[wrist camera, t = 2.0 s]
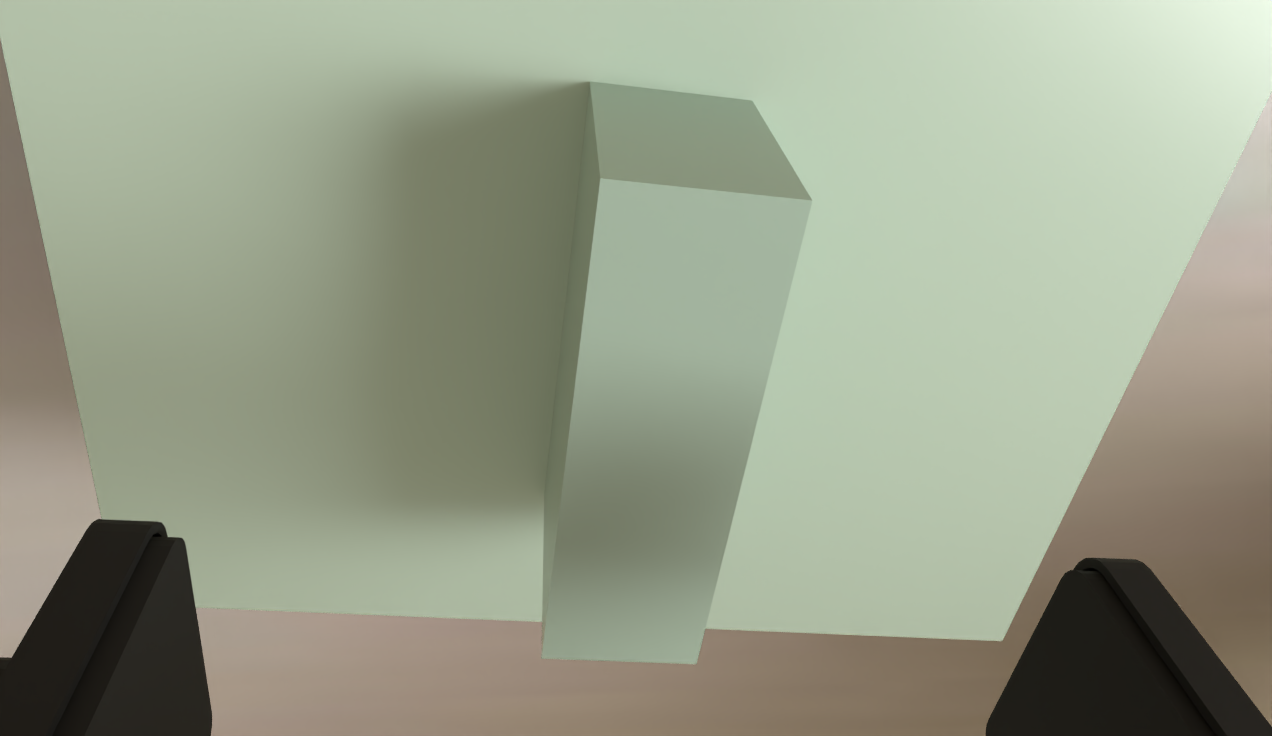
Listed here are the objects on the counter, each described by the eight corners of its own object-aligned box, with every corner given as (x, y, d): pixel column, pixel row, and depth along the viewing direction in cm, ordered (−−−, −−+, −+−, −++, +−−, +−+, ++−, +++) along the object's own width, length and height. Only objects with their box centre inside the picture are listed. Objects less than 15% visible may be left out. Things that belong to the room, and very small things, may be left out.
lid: (1257, -91, 15) (1614, -24, 10) (966, 572, 23) (1085, 803, 18) (18, -288, 13) (-344, -329, 8) (158, 530, 21) (25, 783, 16)
